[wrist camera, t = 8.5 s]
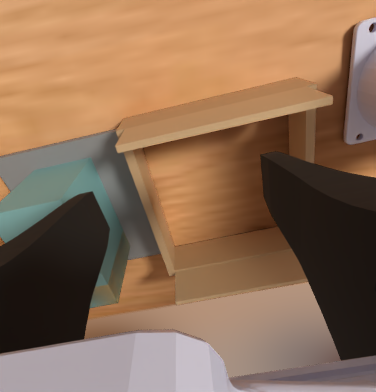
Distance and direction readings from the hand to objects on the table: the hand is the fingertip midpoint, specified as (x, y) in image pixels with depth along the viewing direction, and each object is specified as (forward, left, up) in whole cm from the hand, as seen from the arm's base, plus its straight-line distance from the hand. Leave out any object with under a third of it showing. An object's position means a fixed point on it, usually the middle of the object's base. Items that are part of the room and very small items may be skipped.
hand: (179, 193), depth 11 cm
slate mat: (+9, +5, -9) cm, 14 cm away
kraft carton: (-2, +5, -9) cm, 11 cm away
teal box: (+9, +5, -9) cm, 14 cm away
